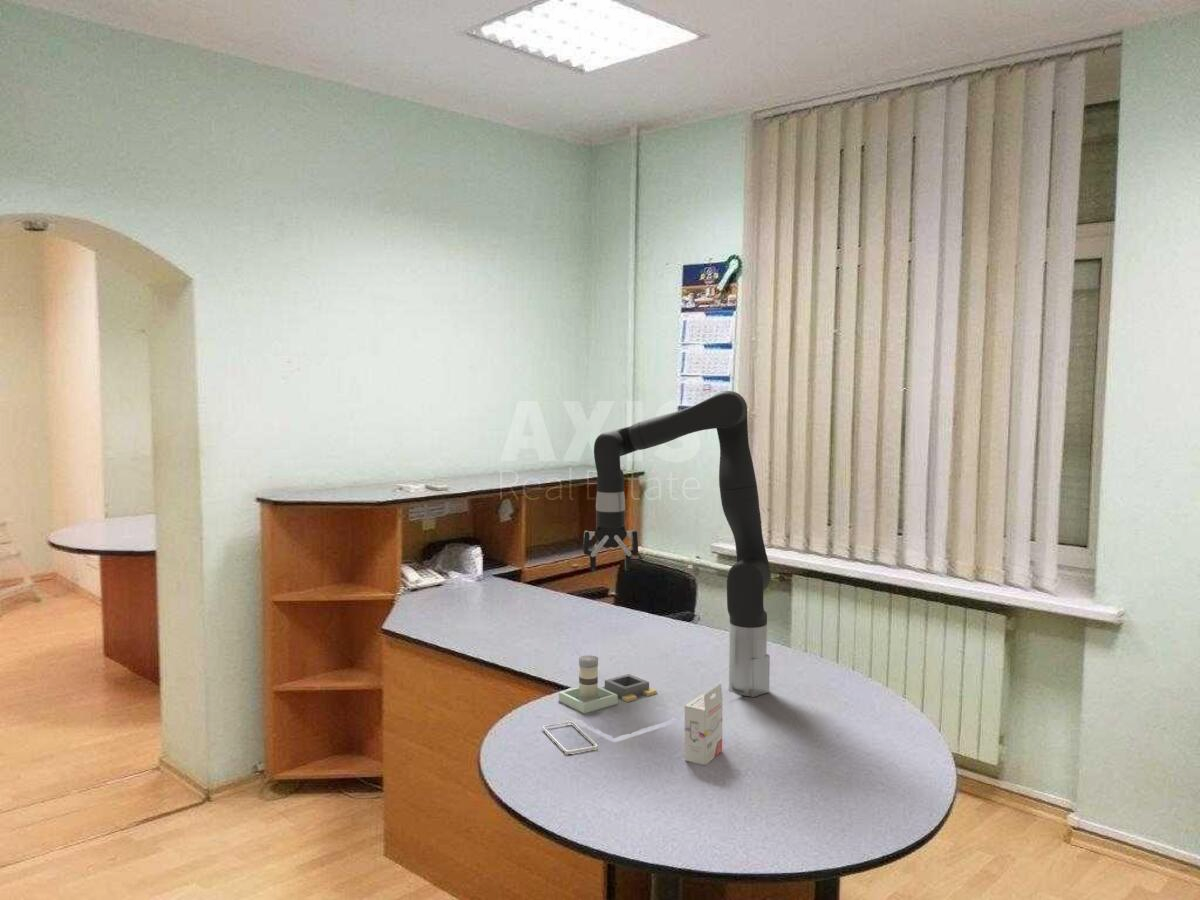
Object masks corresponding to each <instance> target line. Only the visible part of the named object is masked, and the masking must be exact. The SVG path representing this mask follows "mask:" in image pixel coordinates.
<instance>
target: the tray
mask: <svg viewBox="0 0 1200 900" xmlns="http://www.w3.org/2000/svg"><path fill="white" fill-rule="evenodd" d="M601 687H602V686H599V685H598V693H597V694H598V699H595V700H592V701H588V702H583V701H580V700H579V686H578V687H574V688H569V689H566V690H563V691H558V702H560V703H562V704H565V705H566V706H568V707H570V708H573V709H575V710H576V711H579V712H581V714H582V713H583V714H586V713H591V712H593V711H597V710H600V709H604V708H608V707H611V706H614V705H617V704H618V702H619V701H618V700H619V699H618V695H617V694H615V693H613V692H610V691H608V690H606V689H604V688H601Z"/></svg>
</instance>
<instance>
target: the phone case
mask: <svg viewBox="0 0 1200 900" xmlns="http://www.w3.org/2000/svg"><path fill="white" fill-rule="evenodd" d="M568 723H571V724H573V725H574V726H575V727H576V728H577V729H578V730H579V731H580V732H581V733H582V734H583V735H584V736H585V737H586V738H587V739H588V740H589V741H590V742H591V743H592V744H593V745H594V746H593V745H592V744H591V743H590V742H589V741H588V740H587V739H586V740H587V741H588V742H589V743H590V744H591V745H590V746H587V747H582V748H576V749H570V750H567V749H566V748H565V747H564V746H563V745H562V743H560V742H559V741H558V740H557V739H556V738H555V737H554V735H552V734H551V733H550V732H549V730H548V729H545V727H554V725H555V726H560V724H561V725H567V724H568ZM543 729H544V730H545V731H546V733H548V735H549V736H550V737H551V738H552V739H553V740H554V741H555V742H556V743H557V745H558V746H559V748H561V750H562V752H563V751H564V752H565V753H566V754H571V753H577V752H583V751H589V750H595V749H597V750H598V744H597V743H596V742H595V741H594V740H593V739H592V738H591V737H590V736H589V735H588V734H587V733H586V732H584V730H582V729H581V728H580V727H579V726H578V725H577V724H576V723H575V722H573V721H571V720H570V721H564V722H558V723H553V724H547V725H543V726H542V730H543ZM595 751H596V750H595ZM589 752H590V751H589Z"/></svg>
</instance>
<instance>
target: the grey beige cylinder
mask: <svg viewBox="0 0 1200 900" xmlns="http://www.w3.org/2000/svg"><path fill="white" fill-rule="evenodd" d="M578 667H579V670H578V687H579V697H578V700H580V701H583V702H588V701H592V700H595V699H599V697H598V694H597V693H598V686H599V684H598V683H599V681H598V680H599V675H598V674H599V673H598V672H599V670H598V669H599V668H598V667H599V657H598V656H595V655H590V654H588V655H587V654H586V655H580V656H579V657H578Z"/></svg>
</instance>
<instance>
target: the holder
mask: <svg viewBox="0 0 1200 900" xmlns="http://www.w3.org/2000/svg"><path fill="white" fill-rule="evenodd" d="M600 687H601V688H604V689H606V690H608V691H610V692H613V693H615V694H617V695H618V700H619V701H622V702H624V703H626V704H628V703H631V702H635V701H638V700H641V699H644V698H649V697H652V696H656V695H658V694H659V693H658V690H657V689H655V688H653V687H652V688H650V682H649V681H648V680H645V679H642V678H640V677H638V676H635V675H633V674H630V673H627V674H624V675H619V676H615V677H612V678H609V679H605V680H604V686H600Z"/></svg>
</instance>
